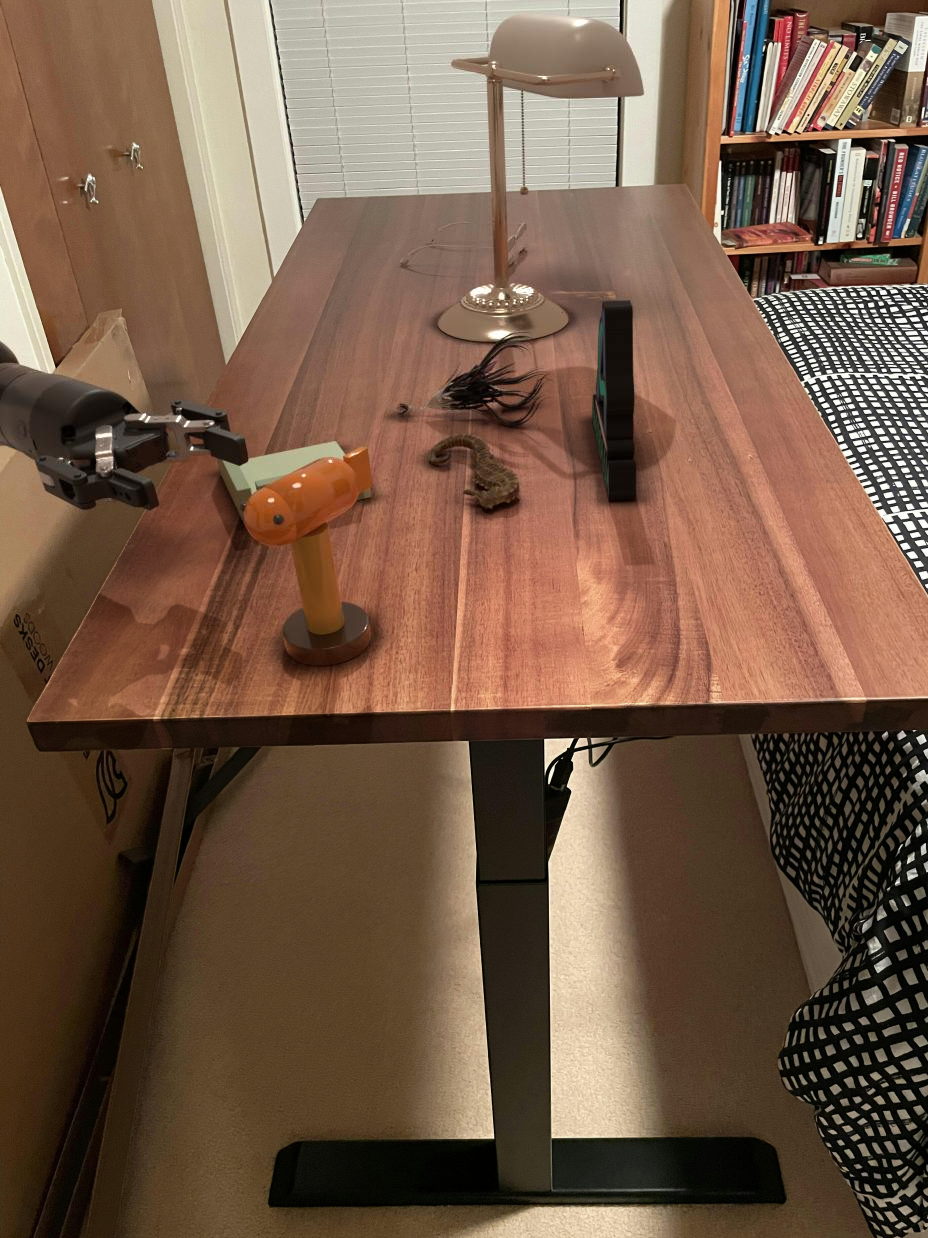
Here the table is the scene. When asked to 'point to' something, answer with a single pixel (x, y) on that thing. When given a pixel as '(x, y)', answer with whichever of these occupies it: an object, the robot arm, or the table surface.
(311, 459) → the corner tray
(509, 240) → the eyeglasses
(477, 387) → the feather lure
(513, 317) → the lamp
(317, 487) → the goldfish figurine
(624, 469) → the decorative sign
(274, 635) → the table surface
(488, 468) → the seahorse
